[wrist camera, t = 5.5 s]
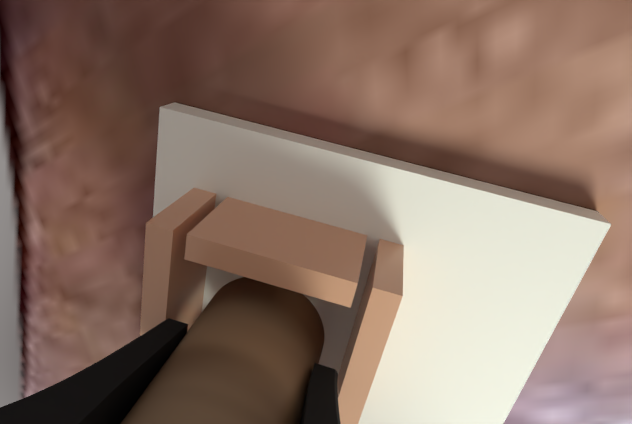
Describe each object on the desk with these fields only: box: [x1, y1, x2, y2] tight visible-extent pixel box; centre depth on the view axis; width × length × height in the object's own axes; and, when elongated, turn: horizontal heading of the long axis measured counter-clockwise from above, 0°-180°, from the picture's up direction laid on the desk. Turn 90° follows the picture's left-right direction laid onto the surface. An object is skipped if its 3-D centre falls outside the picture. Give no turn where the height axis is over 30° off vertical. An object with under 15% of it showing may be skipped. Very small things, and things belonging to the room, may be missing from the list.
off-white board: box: [153, 102, 611, 424], centre depth 18 cm, size 20×14×1 cm
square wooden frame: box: [140, 188, 404, 424], centre depth 15 cm, size 7×7×3 cm
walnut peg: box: [120, 277, 324, 424], centre depth 11 cm, size 4×4×7 cm
